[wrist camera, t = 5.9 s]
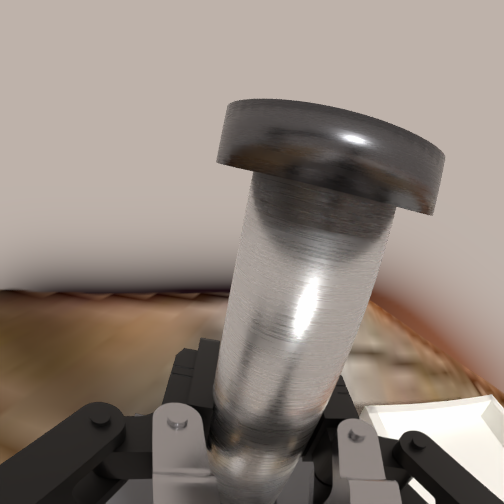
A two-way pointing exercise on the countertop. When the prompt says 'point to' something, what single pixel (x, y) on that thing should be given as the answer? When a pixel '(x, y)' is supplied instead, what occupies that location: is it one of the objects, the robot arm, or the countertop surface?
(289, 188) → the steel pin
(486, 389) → the countertop surface
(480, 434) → the tray
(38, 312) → the countertop surface
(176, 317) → the countertop surface
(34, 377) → the countertop surface
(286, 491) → the block
